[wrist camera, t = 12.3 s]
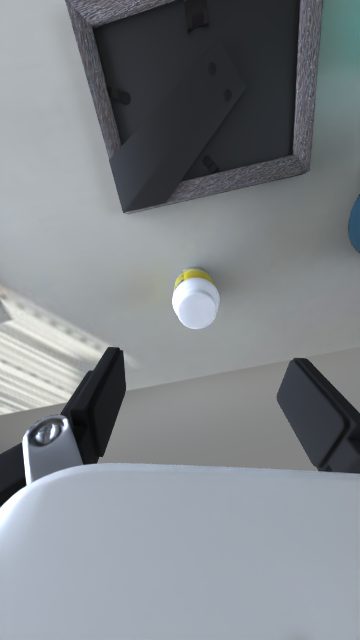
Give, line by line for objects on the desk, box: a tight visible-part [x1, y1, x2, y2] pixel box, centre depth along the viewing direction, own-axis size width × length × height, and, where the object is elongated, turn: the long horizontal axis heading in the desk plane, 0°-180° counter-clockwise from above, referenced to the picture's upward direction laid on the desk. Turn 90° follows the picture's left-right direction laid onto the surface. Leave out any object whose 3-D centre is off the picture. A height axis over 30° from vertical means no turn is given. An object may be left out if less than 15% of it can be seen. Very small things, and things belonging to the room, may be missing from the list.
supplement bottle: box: [173, 267, 220, 329], centre depth 23 cm, size 5×5×10 cm
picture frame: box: [65, 0, 323, 214], centre depth 19 cm, size 16×2×21 cm
